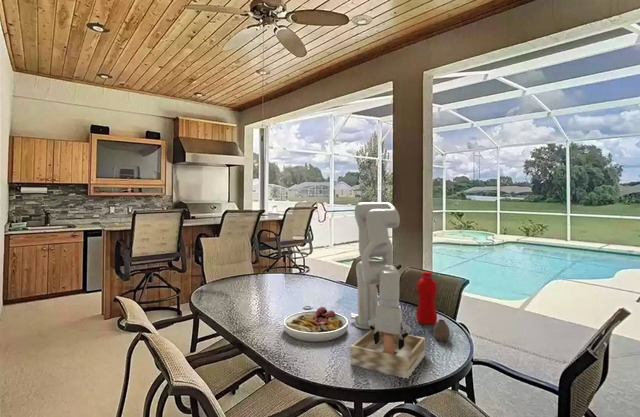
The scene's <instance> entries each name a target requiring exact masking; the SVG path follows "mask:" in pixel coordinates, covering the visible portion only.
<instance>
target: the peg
mask: <svg viewBox="0 0 640 417" xmlns="http://www.w3.org/2000/svg"><path fill="white" fill-rule="evenodd" d="M384 353H388V354H392V355H394V334H390V333H384Z"/></svg>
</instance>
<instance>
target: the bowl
mask: <svg viewBox="0 0 640 417" xmlns="http://www.w3.org/2000/svg"><path fill="white" fill-rule="evenodd" d="M348 327H349V320H348V319H347V317H345V316H344V315H343V314H339V313H336V312H335V311H334V310H329V311H328V310H327V308H325V307H323V306H320V307H318V309H316V310H307V311H305V310H304V311H300V312H296V313H292V314H290V315H289V316H287V317H285V318H284V320H283V329H284V331H285V332H286V334H287V335H288V336H290V337H292V338H293V339H296V340H298V341H304V342H312V343H314V342H317V343H318V342H327V341H331V340H335V339H337V338H340V337H341V336H343V335H344V334H345V333H346V332H347V330H348Z"/></svg>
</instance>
